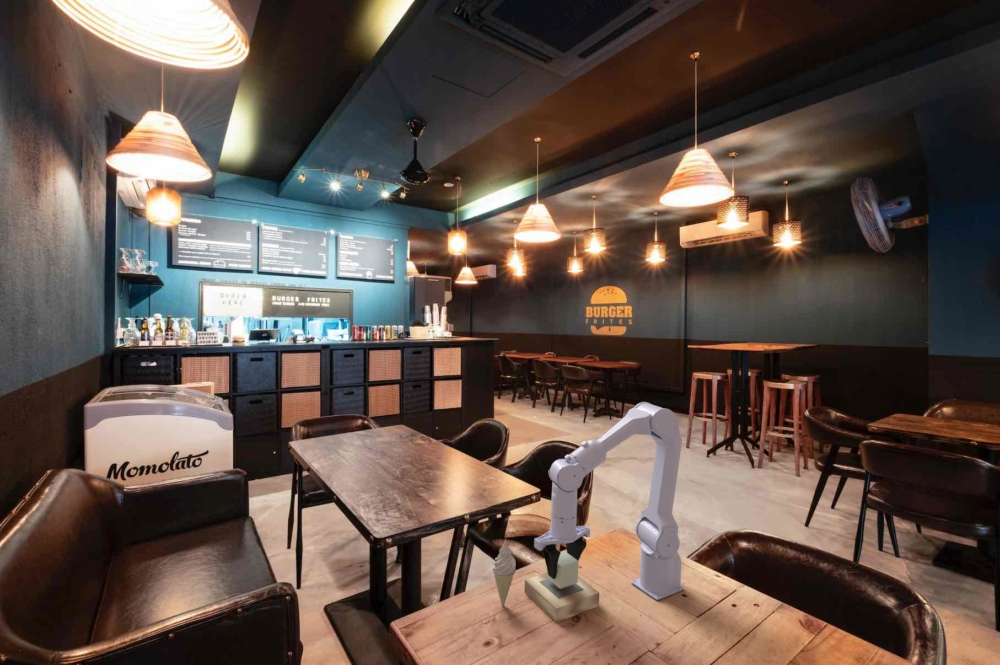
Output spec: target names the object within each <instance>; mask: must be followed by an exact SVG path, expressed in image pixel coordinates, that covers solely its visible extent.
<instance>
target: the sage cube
mask: <svg viewBox="0 0 1000 665" xmlns="http://www.w3.org/2000/svg"><path fill="white" fill-rule="evenodd" d="M560 552H561V554H560V556H559V559H558V564H557V575H556V579H552V578H551V577H550V576H549V575H548V571H547V570H546V573H547V578H548V579H549V580H550V581H551V582H553V583H554V584H555V585H556V586H557V587H558V588H560V589H561V588H564V587H567V586H570V585H573V584H576V583H578V577H579V561H578V560H577V559H575V558H574V557H572V556H571V555H570V554H568V553H567V551H565V550H563V551H560Z"/></svg>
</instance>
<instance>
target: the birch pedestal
mask: <svg viewBox="0 0 1000 665" xmlns="http://www.w3.org/2000/svg"><path fill="white" fill-rule="evenodd" d="M523 593H525V594H526V596H528V597H529V598H530V599H531V600H532V601H533V602H534V604H536V605H537V606H538V607H539V608H540V609H541V610H542V611H543V612H544V613H545V614H546V615H547V616H548V617H550V619H551V620H552V621H553V622H555V623H559V622H561V621H564V620H567V619H569V618H572V617H574V616H576V615H579V614H583V613H584V612H588V611H589V610H592V609H596V608H597V607H599V606H600V592H599V591H598V590H597V589H595V588H594V587H592V586H591V585H590V584H589V583H587V581H585V580H584V579H582V577H581V578H580V577H579V576H578V583H576V584H573V585H570V586H567V587H564V588H561V589H560V588H558V587H557V586H556V585H555V584H554V583H553V582H551V581H550V580H549V579H548V578H547V572H544V573H541V574H538V575H535V576H533V577H529V578H526V579H524V592H523Z"/></svg>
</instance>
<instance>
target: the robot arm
mask: <svg viewBox="0 0 1000 665" xmlns="http://www.w3.org/2000/svg"><path fill="white" fill-rule="evenodd" d="M679 426H680V418H679V417H678V416H677V415H676V414H675V413H674V411H672V410H671V409H669V408H666V407H665V408H663V407H661V406H658V405H654V404H652V403H650V402H647V401H641V402H639V403H637V404H636V405H635V406H634V407H632V408H630V409H628V411H627V413H626V415H625V416H624V417H623V418H622V419H620V420H619V421H618V422H617V423H616V424H615V425H613V426H612V427H611V428H610V429H609V430H607V432H605V433H604V434H603V435H601V436H600V437H599V438H598V439H596V440H593V439H588V440H587V441H586V440H583V441H582V442H581V443H580V446H579V447H578V448H576V449H575V450H574V451H572V452H571V453H569V454H566V455H565V456H564V458H558V459H556V460H554V462H552V464H551V466H550V468H549V469H548V472H547V473H548V476H549V478H550V480H551V481H552V483H551V485H552V486H551V502H550V503H551V508H550V526H549V530H548V531H547V532H545V533H544V534H542V535H540V536H538V537H535V538H534V540H533V543H534V544H533V547H534V548H535V549H536V550H538V552H541V554H542V555H543V559H544V561H545V565H546V572H547V571H548V575H549V576H550V577H551V578H552V579H556V575H557V564H558V559H559V556H560V554H561V552H562V551H560V550H558V549H557V546H556V545H560V544H565V547H566V552H567V553H568V554H570V555H571V556H572V557H574V558H575V559H577V560H578V562H579V561H580V558H581V557H582V554H583V552H584V550H585V549H586V548H587V541H586V540H584V539H583V538H584V537H585V538H590V537H591V528H590V527H588V526H586V525H579V526H577V509H578V508H577V507H578V489H580V487H581V486H582V484H583V480H584V478H586V477H587V475H589V474H590V473H591V472H592V471H593V470H595V469H596V468H598V467H599V466H600V465H601V464H602V463H605V461H606V457H607V454H608V452H610V451H611V450H613V449H615V448H616V447H618V446H619V445H621V443H624V442H625V441H626V440H628V439H629V438H631V437H633V436H635V435H642V436H643V435H644V436H650V437H651V438H652V439H653V441H654V442H655V444H656V448H655V454H654V463H653V470H652V476H651V482H650V483H651V484H650V491H649V499H648V505H647V507H646V508H644V509H642V511H641V514H640V517H639V519H638V520H637V523H636V525H635V533H636V536H637V537H638V539H640V541H639V542H640V555H639V556H640V561H639V563H640V564H639V577H638V578H636V579H633V580H631V584H632V585H634V586H635V587H636V588H638V589H639V590H641V592H643V593H645V594H646V595H648V596H649V597H651V598H653V599H654V600H655V601H659V600H662V599H664V598H667V597H668V596H671V595H674V594H676V593H678V592H680V591H683V590H684V586H682V585H681V580H682V579H681V578H682V559H681V556H680V554H679V550H680V543H681V542H680V539H679V526H678V524H677V521H676V519H675V518H674V515H673V509H674V502H675V494H676V487H677V482H678V481H677V480H678V472H679V465H680V460H681V451H682V445H683V444H682V442H683V440H682V435H681V430H680V428H679Z"/></svg>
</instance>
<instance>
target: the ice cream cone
mask: <svg viewBox="0 0 1000 665" xmlns="http://www.w3.org/2000/svg"><path fill="white" fill-rule="evenodd" d="M498 552H499V553H498V554H497V557H495V559H494V560H495V562H493V565H494V566H493V567H492V572H493V575H494V580H495V583H496V587H497V592H498V596H499V600H500V605H501V607H504V606H505V604H506V601H507V597H508V594H509V591H510V587H511V585H512V581H513V578H514V574H515V573H516V565H517V564H516V563H517V562H516V559H515V558H514V557H513V555H512V550H511V549H510V547H509V544H508V541H507V539H506V538H505V539H504V541H503V544H502V546H501V547H500V549H499V551H498Z"/></svg>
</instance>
